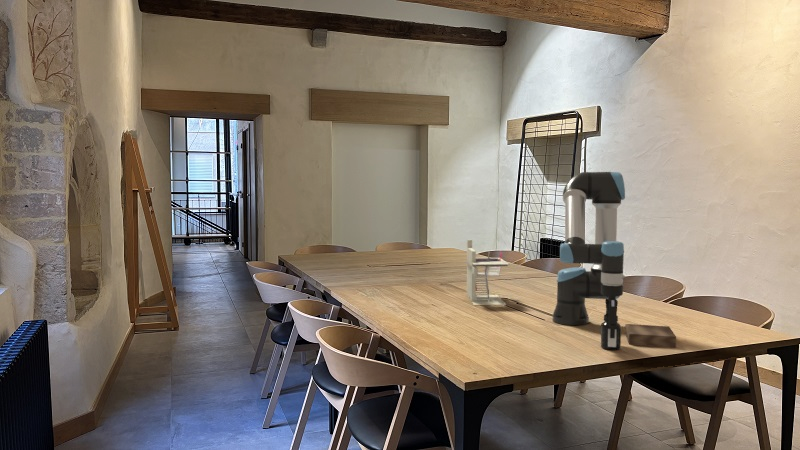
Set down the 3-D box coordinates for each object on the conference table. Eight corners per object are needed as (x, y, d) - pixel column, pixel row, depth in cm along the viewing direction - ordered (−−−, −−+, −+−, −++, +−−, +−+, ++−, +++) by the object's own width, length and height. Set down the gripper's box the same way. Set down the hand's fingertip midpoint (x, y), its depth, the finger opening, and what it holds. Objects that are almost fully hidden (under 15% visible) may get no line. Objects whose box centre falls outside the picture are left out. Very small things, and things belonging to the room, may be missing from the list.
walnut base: (629, 344, 219) (629, 333, 219) (625, 333, 235) (625, 323, 234) (675, 347, 215) (676, 336, 215) (668, 336, 230) (669, 326, 230)
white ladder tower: (510, 305, 290) (511, 245, 288) (473, 305, 290) (474, 245, 288) (500, 295, 317) (501, 239, 315) (466, 295, 317) (467, 239, 315)
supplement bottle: (616, 345, 218) (616, 313, 217) (623, 350, 211) (624, 317, 210) (597, 345, 218) (598, 313, 217) (604, 350, 211) (605, 317, 210)
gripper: (626, 290, 200) (624, 351, 201) (620, 279, 224) (618, 334, 225) (602, 289, 202) (601, 350, 204) (599, 278, 226) (598, 332, 227)
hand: (610, 341), depth 214 cm, fingers open, 13 cm apart
